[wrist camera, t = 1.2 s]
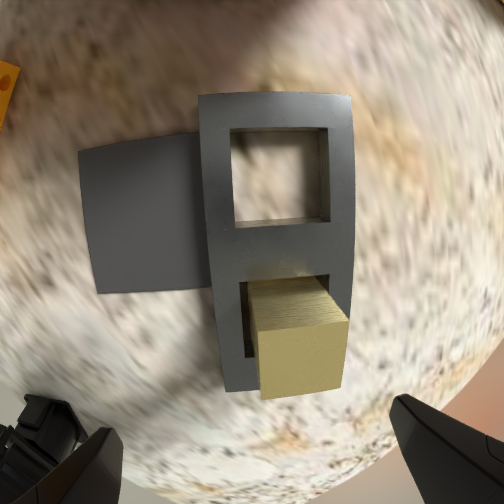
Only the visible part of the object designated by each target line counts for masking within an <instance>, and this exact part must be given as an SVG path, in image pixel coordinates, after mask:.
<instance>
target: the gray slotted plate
mask: <svg viewBox="0 0 504 504" xmlns="http://www.w3.org/2000/svg"><path fill="white" fill-rule="evenodd" d="M198 105H199V128H200V147H201V164H202V179H203V193H204V206H205V219H206V230H207V242H208V252H209V262H210V272H211V282H212V291H213V300H214V309H215V317H216V325H217V333H218V341H219V349H220V356H221V364H222V371H223V378H224V385H225V391H226V392H239V391H251V390H260V389H259V383H258V377H257V371H256V365H255V358H254V352H253V346H252V342H246V343H244V340H243V328H242V315H241V302H240V289H239V282H246V281H258V280H270V279H282V278H293V277H304V276H315V275H320V284H321V285H322V286H323V288H324V289H325V290H326V291H327V293H328V294H329V295H330V296H331V298H332V299H333V300H334V301H335V303H336V304H337V305H338V307H339V308H340V309H341V310H342V312H343V313H344V314H345V315H346V317H347V318H348V319H349V318H350V308H351V296H352V283H353V267H354V247H355V155H354V134H353V119H352V107H351V96H350V95H340V94H327V93H310V92H235V93H219V94H206V95H198ZM260 131H318V145H319V168H320V208H321V217H309V218H291V219H274V220H258V221H243V222H235V217H234V202H233V185H232V169H231V151H230V133H237V132H260Z"/></svg>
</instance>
